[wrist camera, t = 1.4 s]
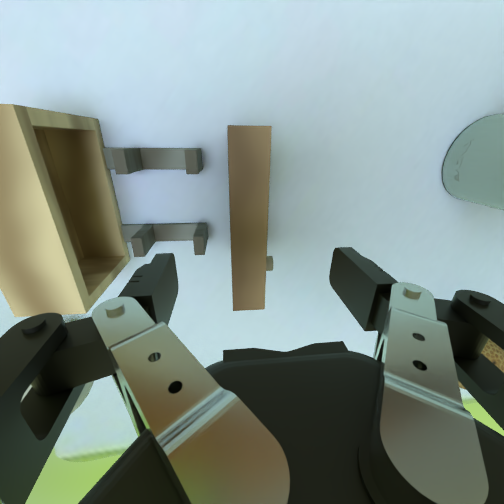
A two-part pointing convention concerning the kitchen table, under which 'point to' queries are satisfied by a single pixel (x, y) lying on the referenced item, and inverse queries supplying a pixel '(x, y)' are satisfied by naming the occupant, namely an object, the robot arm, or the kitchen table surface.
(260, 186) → the door
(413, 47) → the kitchen table surface
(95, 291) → the cabinet
